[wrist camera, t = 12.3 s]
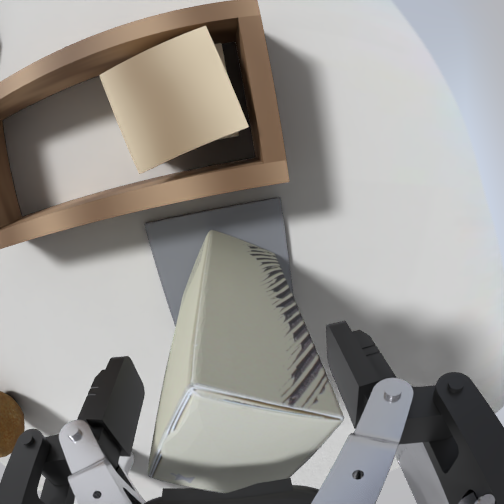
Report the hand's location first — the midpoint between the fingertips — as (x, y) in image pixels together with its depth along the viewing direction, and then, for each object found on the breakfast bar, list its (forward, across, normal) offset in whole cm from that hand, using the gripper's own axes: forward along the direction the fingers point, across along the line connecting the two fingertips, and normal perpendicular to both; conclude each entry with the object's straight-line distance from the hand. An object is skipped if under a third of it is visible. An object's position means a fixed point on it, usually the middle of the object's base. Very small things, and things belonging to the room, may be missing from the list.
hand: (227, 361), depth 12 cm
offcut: (+6, 0, -10) cm, 12 cm away
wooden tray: (+8, +5, -10) cm, 14 cm away
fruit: (+8, +26, +10) cm, 29 cm away
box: (+8, 0, 0) cm, 8 cm away
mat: (+8, 0, 0) cm, 8 cm away
